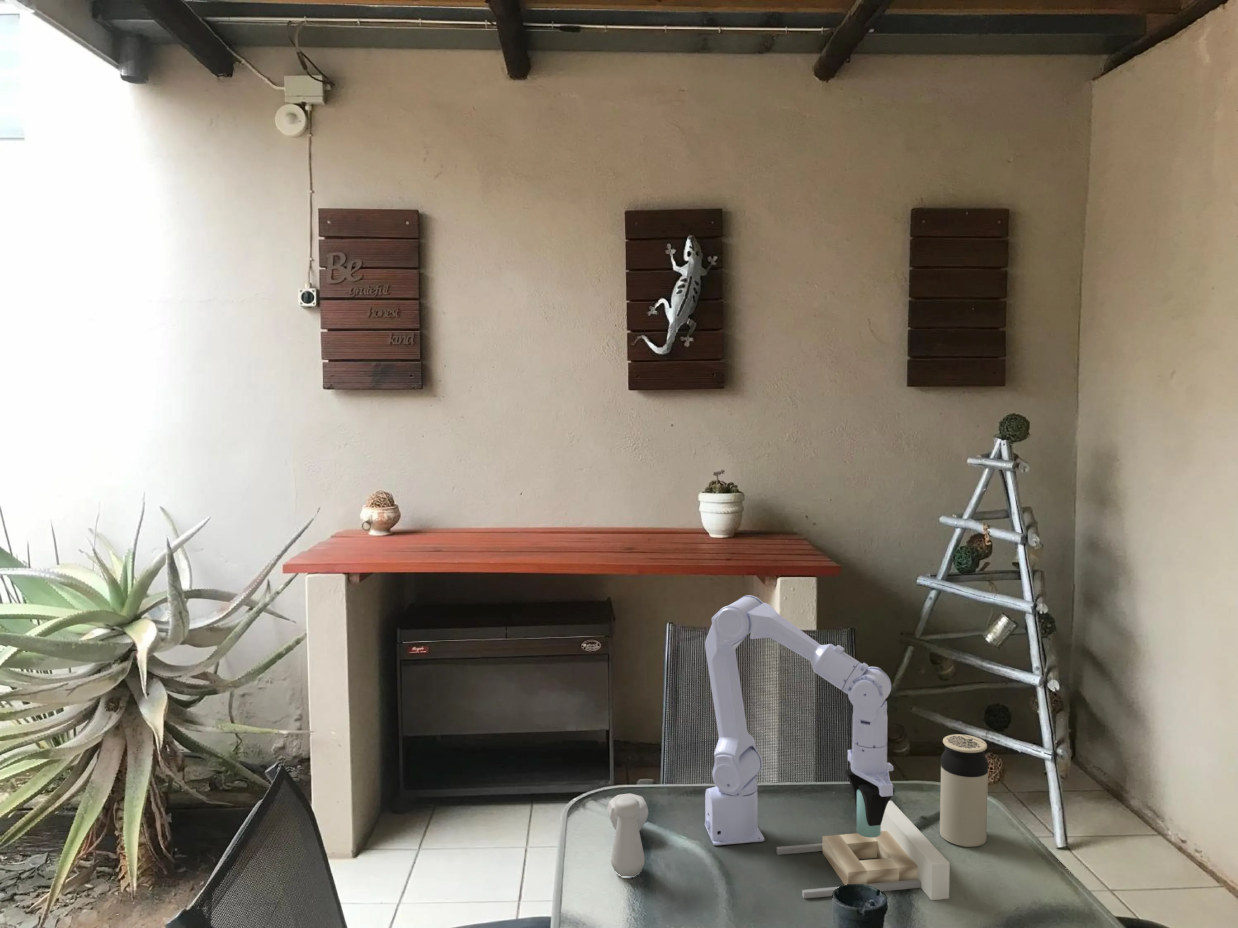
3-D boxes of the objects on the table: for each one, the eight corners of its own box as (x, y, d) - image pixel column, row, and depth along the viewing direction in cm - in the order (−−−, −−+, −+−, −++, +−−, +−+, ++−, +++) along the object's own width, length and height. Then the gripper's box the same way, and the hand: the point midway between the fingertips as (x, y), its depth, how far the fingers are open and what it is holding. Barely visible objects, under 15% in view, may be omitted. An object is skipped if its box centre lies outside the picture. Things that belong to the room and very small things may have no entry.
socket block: (848, 889, 150) (848, 872, 150) (822, 852, 162) (822, 835, 162) (917, 883, 152) (917, 865, 152) (886, 846, 164) (887, 830, 163)
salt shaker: (606, 867, 158) (604, 795, 157) (636, 860, 160) (635, 789, 159) (619, 884, 153) (618, 810, 152) (650, 876, 155) (649, 803, 154)
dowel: (884, 836, 155) (884, 796, 154) (861, 838, 154) (862, 798, 154) (875, 824, 159) (875, 786, 158) (853, 826, 158) (853, 787, 158)
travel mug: (962, 852, 162) (964, 753, 160) (930, 831, 169) (931, 737, 167) (996, 842, 165) (998, 745, 163) (963, 822, 172) (965, 730, 170)
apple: (645, 843, 166) (645, 809, 166) (603, 840, 168) (602, 806, 167) (651, 822, 174) (651, 789, 173) (611, 819, 175) (610, 786, 175)
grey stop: (811, 911, 144) (811, 875, 144) (770, 841, 166) (770, 810, 166) (948, 898, 147) (949, 862, 147) (890, 831, 169) (891, 800, 169)
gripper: (911, 757, 148) (910, 837, 150) (874, 723, 163) (873, 796, 164) (869, 760, 147) (868, 840, 149) (836, 726, 162) (836, 799, 163)
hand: (868, 818), depth 156 cm, fingers closed on dowel, 4 cm apart
